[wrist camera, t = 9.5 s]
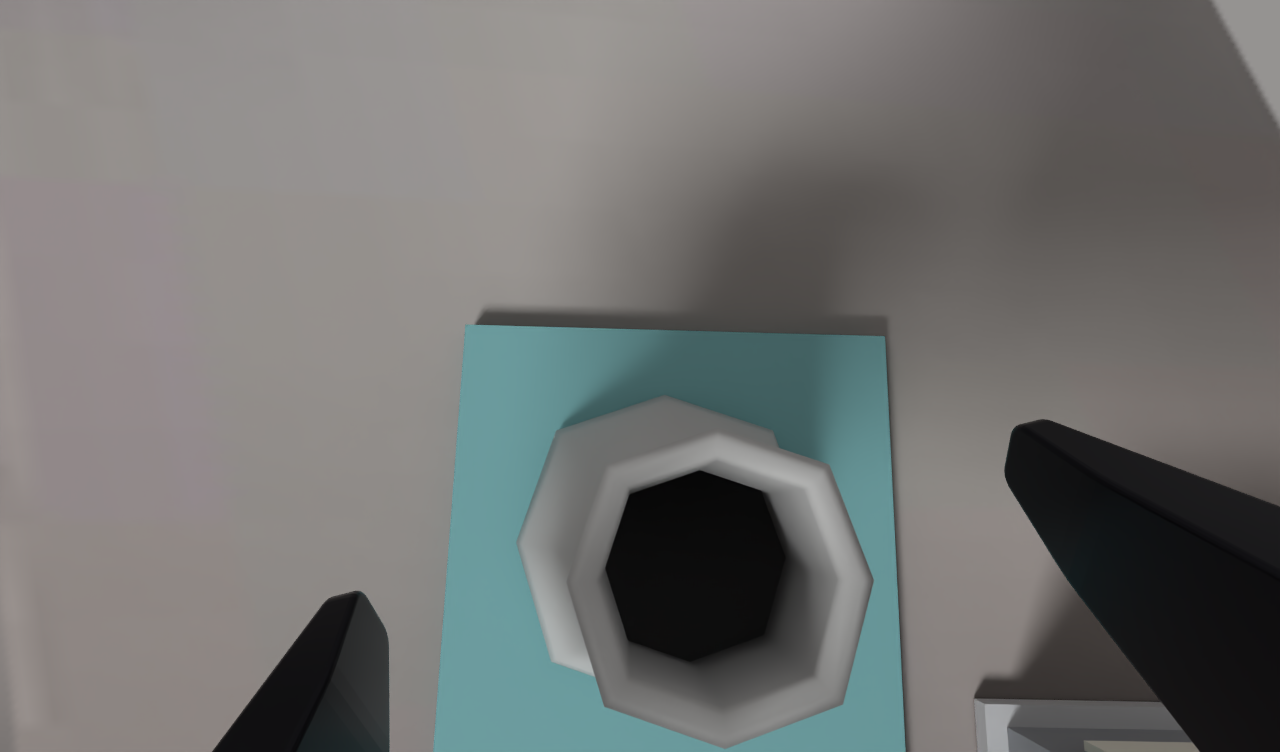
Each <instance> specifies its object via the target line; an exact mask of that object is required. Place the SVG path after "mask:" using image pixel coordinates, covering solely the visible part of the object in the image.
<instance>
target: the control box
mask: <svg viewBox="0 0 1280 752" xmlns="http://www.w3.org/2000/svg"><path fill="white" fill-rule="evenodd" d="M974 705H975V720H976V734H977V749H978V752H1199V750H1198V749H1197V748H1196V747H1195V745H1194V744H1193V743H1192V741H1191V740H1190V739H1189V737H1188V736H1187V735H1186V734H1185V732H1184V731H1183V730H1182V728H1181V727H1180V726H1179V724H1178V723H1177V722H1176V721H1175V719H1174V718H1173V717H1172V715H1171V714H1170V713H1169V712H1168V710H1167V709H1166V708H1165V706H1164V705H1163V704H1162V702H1136V701H1083V700H1030V699H978V698H974Z"/></svg>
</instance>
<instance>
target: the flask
mask: <svg viewBox="0 0 1280 752" xmlns="http://www.w3.org/2000/svg"><path fill="white" fill-rule="evenodd" d="M516 544H517V547H518V551H519V554H520V558H521V561H522V564H523V568H524V571H525V575H526V578H527V581H528V585H529V588H530V592H531V595H532V598H533V602H534V605H535V609H536V612H537V616H538V619H539V622H540V626H541V629H542V633H543V636H544V639H545V643H546V646H547V650H548V653H549V656H550V660H551V662H553V663H556V664H559V665H562V666H565V667H567V668H570V669H573V670H576V671H579V672H582V673H585V674H587V675H590V676H593V677H595V678H596V681H597V685H598V688H599V691H600V695H601V698H602V701H603V705H604V707H606V708H609V709H612V710H615V711H618V712H621V713H624V714H626V715H629V716H632V717H635V718H638V719H641V720H644V721H646V722H649V723H652V724H655V725H658V726H661V727H664V728H666V729H669V730H672V731H675V732H678V733H681V734H684V735H686V736H689V737H692V738H695V739H698V740H701V741H704V742H706V743H709V744H712V745H715V746H718V747H721V748H724V749H727V748H729V747H732V746H735V745H737V744H740V743H743V742H745V741H748V740H750V739H753V738H756V737H758V736H761V735H764V734H766V733H769V732H772V731H774V730H777V729H780V728H782V727H785V726H788V725H790V724H793V723H796V722H798V721H801V720H803V719H806V718H809V717H811V716H814V715H817V714H819V713H822V712H825V711H827V710H830V709H833V708H835V707H838V706H841V705H843V703H844V699H845V695H846V691H847V687H848V683H849V679H850V675H851V671H852V667H853V663H854V659H855V655H856V651H857V647H858V643H859V639H860V635H861V631H862V627H863V623H864V619H865V615H866V611H867V607H868V603H869V599H870V595H871V591H872V587H873V583H874V579H873V576H872V574H871V571H870V568H869V566H868V563H867V561H866V558H865V556H864V553H863V550H862V548H861V545H860V543H859V540H858V537H857V535H856V532H855V530H854V527H853V524H852V522H851V519H850V517H849V514H848V512H847V509H846V506H845V504H844V501H843V499H842V496H841V493H840V491H839V488H838V486H837V483H836V480H835V478H834V475H833V473H832V470H831V468H830V465H829V464H826V463H823V462H820V461H817V460H814V459H811V458H808V457H805V456H802V455H799V454H796V453H793V452H790V451H787V450H784V449H781V448H779V446H778V443H777V440H776V438H775V435H774V432H773V430H770V429H767V428H764V427H761V426H758V425H755V424H752V423H749V422H746V421H743V420H740V419H737V418H734V417H731V416H728V415H724V414H721V413H718V412H715V411H712V410H709V409H706V408H703V407H700V406H697V405H694V404H691V403H688V402H685V401H682V400H679V399H676V398H673V397H670V396H667V395H662V396H659V397H656V398H653V399H650V400H647V401H644V402H641V403H638V404H635V405H632V406H629V407H626V408H623V409H620V410H617V411H614V412H611V413H608V414H605V415H601V416H598V417H595V418H592V419H589V420H586V421H583V422H580V423H577V424H574V425H571V426H568V427H565V428H562V429H559V430H556V432H555V435H554V438H553V440H552V443H551V446H550V449H549V452H548V454H547V457H546V460H545V463H544V466H543V468H542V471H541V474H540V477H539V480H538V482H537V485H536V488H535V491H534V494H533V497H532V499H531V502H530V505H529V508H528V511H527V513H526V516H525V519H524V522H523V525H522V527H521V530H520V533H519V536H518V539H517V541H516Z"/></svg>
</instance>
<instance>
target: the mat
mask: <svg viewBox="0 0 1280 752" xmlns="http://www.w3.org/2000/svg"><path fill="white" fill-rule="evenodd" d="M662 395H667V396H670V397H673V398H676V399H679V400H682V401H685V402H688V403H691V404H694V405H697V406H700V407H703V408H706V409H709V410H712V411H715V412H718V413H721V414H724V415H728V416H731V417H734V418H737V419H740V420H743V421H746V422H749V423H752V424H755V425H758V426H761V427H764V428H767V429H770V430H773V432H774V435H775V438H776V440H777V443H778V446H779V448H781V449H784V450H787V451H790V452H793V453H796V454H799V455H802V456H805V457H808V458H811V459H814V460H817V461H820V462H823V463H826V464H829V465H830V468H831V470H832V473H833V475H834V478H835V480H836V483H837V486H838V488H839V491H840V493H841V496H842V499H843V501H844V504H845V506H846V509H847V512H848V514H849V517H850V519H851V522H852V524H853V527H854V530H855V532H856V535H857V537H858V540H859V543H860V545H861V548H862V550H863V553H864V556H865V558H866V561H867V563H868V566H869V568H870V571H871V574H872V576H873V579H874V583H873V587H872V591H871V595H870V599H869V603H868V607H867V611H866V615H865V619H864V623H863V627H862V631H861V635H860V639H859V643H858V647H857V651H856V655H855V659H854V663H853V667H852V671H851V675H850V679H849V683H848V687H847V691H846V695H845V699H844V703H843V705H841V706H838V707H835V708H833V709H830V710H827V711H825V712H822V713H819V714H817V715H814V716H811V717H809V718H806V719H803V720H801V721H798V722H796V723H793V724H790V725H788V726H785V727H782V728H780V729H777V730H774V731H772V732H769V733H766V734H764V735H761V736H758V737H756V738H753V739H750V740H748V741H745V742H743V743H740V744H737V745H735V746H732V747H729V748H727V749H724V748H721V747H718V746H715V745H712V744H709V743H706V742H704V741H701V740H698V739H695V738H692V737H689V736H686V735H684V734H681V733H678V732H675V731H672V730H669V729H666V728H664V727H661V726H658V725H655V724H652V723H649V722H646V721H644V720H641V719H638V718H635V717H632V716H629V715H626V714H624V713H621V712H618V711H615V710H612V709H609V708H606V707H604V705H603V701H602V698H601V695H600V691H599V688H598V685H597V681H596V678H595V677H593V676H590V675H587V674H585V673H582V672H579V671H576V670H573V669H570V668H567V667H565V666H562V665H559V664H556V663H553V662H551V660H550V656H549V653H548V650H547V646H546V643H545V639H544V636H543V633H542V629H541V626H540V622H539V619H538V616H537V612H536V609H535V605H534V602H533V598H532V595H531V592H530V588H529V585H528V581H527V578H526V575H525V571H524V568H523V564H522V561H521V558H520V554H519V551H518V547H517V544H516V541H517V539H518V536H519V533H520V530H521V527H522V525H523V522H524V519H525V516H526V513H527V511H528V508H529V505H530V502H531V499H532V497H533V494H534V491H535V488H536V485H537V482H538V480H539V477H540V474H541V471H542V468H543V466H544V463H545V460H546V457H547V454H548V452H549V449H550V446H551V443H552V440H553V438H554V435H555V432H556V430H559V429H562V428H565V427H568V426H571V425H574V424H577V423H580V422H583V421H586V420H589V419H592V418H595V417H598V416H601V415H605V414H608V413H611V412H614V411H617V410H620V409H623V408H626V407H629V406H632V405H635V404H638V403H641V402H644V401H647V400H650V399H653V398H656V397H659V396H662ZM433 752H905V731H904V711H903V691H902V671H901V650H900V630H899V610H898V589H897V569H896V549H895V529H894V508H893V488H892V468H891V448H890V427H889V407H888V387H887V366H886V346H885V336H860V335H824V334H788V333H751V332H715V331H679V330H643V329H607V328H571V327H534V326H498V325H466V326H465V339H464V352H463V365H462V379H461V392H460V405H459V418H458V432H457V445H456V458H455V471H454V484H453V498H452V511H451V524H450V537H449V550H448V564H447V577H446V590H445V603H444V617H443V630H442V643H441V656H440V669H439V683H438V696H437V709H436V722H435V735H434V749H433Z"/></svg>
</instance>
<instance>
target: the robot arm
mask: <svg viewBox="0 0 1280 752" xmlns="http://www.w3.org/2000/svg"><path fill="white" fill-rule="evenodd" d="M1004 471H1005V478H1006V481H1007V484H1008V486H1009V488H1010V489H1011V491H1012V493H1013V494H1014V496H1015V497H1016V499H1017V501H1018V502H1019V504H1020V505H1021V507H1022V509H1023V510H1024V512H1025V513H1026V515H1027V517H1028V518H1029V520H1030V522H1031V523H1032V525H1033V526H1034V528H1035V530H1036V531H1037V533H1038V534H1039V536H1040V538H1041V539H1042V541H1043V542H1044V544H1045V546H1046V547H1047V549H1048V551H1049V552H1050V554H1051V555H1052V557H1053V559H1054V560H1055V562H1056V563H1057V565H1058V566H1059V568H1060V569H1061V571H1062V572H1063V574H1064V575H1065V577H1066V579H1067V580H1068V581H1069V583H1070V584H1071V585H1072V587H1073V588H1074V589H1075V591H1076V592H1077V593H1078V595H1079V596H1080V597H1081V599H1082V600H1083V601H1084V603H1085V604H1086V605H1087V607H1088V608H1089V609H1090V610H1091V612H1092V613H1093V614H1094V616H1095V617H1096V618H1097V619H1098V621H1099V622H1100V623H1101V625H1102V626H1103V627H1104V629H1105V630H1106V631H1107V632H1108V634H1109V635H1110V636H1111V638H1112V639H1113V640H1114V642H1115V643H1116V644H1117V645H1118V647H1119V648H1120V649H1121V651H1122V652H1123V653H1124V654H1125V656H1126V657H1127V658H1128V660H1129V661H1130V662H1131V664H1132V665H1133V666H1134V667H1135V669H1136V670H1137V671H1138V673H1139V674H1140V675H1141V677H1142V678H1143V679H1144V680H1145V682H1146V683H1147V684H1148V686H1149V687H1150V688H1151V689H1152V691H1153V692H1154V693H1155V695H1156V696H1157V697H1158V699H1159V700H1160V701H1161V702H1162V704H1163V705H1164V706H1165V708H1166V709H1167V710H1168V712H1169V713H1170V714H1171V715H1172V717H1173V718H1174V719H1175V721H1176V722H1177V723H1178V724H1179V726H1180V727H1181V728H1182V730H1183V731H1184V732H1185V734H1186V735H1187V736H1188V737H1189V739H1190V740H1191V741H1192V743H1193V744H1194V745H1195V747H1196V748H1197V749H1198V750H1199V752H1280V507H1279V506H1277V505H1274V504H1271V503H1269V502H1266V501H1263V500H1261V499H1258V498H1255V497H1253V496H1250V495H1247V494H1245V493H1242V492H1239V491H1237V490H1234V489H1231V488H1229V487H1226V486H1223V485H1221V484H1218V483H1215V482H1213V481H1210V480H1207V479H1205V478H1202V477H1199V476H1197V475H1194V474H1192V473H1189V472H1186V471H1184V470H1181V469H1178V468H1176V467H1173V466H1170V465H1168V464H1165V463H1162V462H1160V461H1157V460H1154V459H1152V458H1149V457H1146V456H1144V455H1141V454H1138V453H1136V452H1133V451H1130V450H1128V449H1125V448H1122V447H1120V446H1117V445H1114V444H1112V443H1109V442H1106V441H1104V440H1101V439H1098V438H1096V437H1093V436H1090V435H1088V434H1085V433H1082V432H1080V431H1077V430H1074V429H1072V428H1069V427H1066V426H1064V425H1061V424H1058V423H1056V422H1053V421H1050V420H1045V419H1041V420H1036V421H1032V422H1028V423H1024V424H1020V425H1018V426H1016V427H1015V428H1014V429H1013V431H1012V433H1011V437H1010V442H1009V447H1008V452H1007V457H1006V463H1005V469H1004ZM212 752H389V642H388V636H387V632H386V629H385V627H384V625H383V623H382V622H381V620H380V618H379V617H378V615H377V613H376V612H375V610H374V608H373V607H372V605H371V603H370V602H369V600H368V598H367V597H366V595H365V594H364V593H362V592H361V591H353V592H349V593H345V594H341V595H337V596H333V597H331V598H329V599H328V600H326V601H325V602H324V604H323V605H322V606H321V607H320V609H319V610H318V611H317V613H316V614H315V615H314V617H313V618H312V619H311V621H310V622H309V623H308V625H307V626H306V627H305V629H304V630H303V631H302V633H301V634H300V635H299V637H298V638H297V639H296V641H295V642H294V643H293V645H292V646H291V647H290V649H289V650H288V651H287V653H286V654H285V655H284V657H283V658H282V659H281V661H280V662H279V663H278V665H277V666H276V667H275V669H274V670H273V671H272V673H271V674H270V675H269V677H268V678H267V679H266V681H265V682H264V683H263V685H262V686H261V687H260V689H259V690H258V691H257V693H256V694H255V695H254V697H253V698H252V699H251V701H250V702H249V703H248V705H247V706H246V707H245V709H244V710H243V711H242V713H241V714H240V715H239V717H238V718H237V719H236V721H235V722H234V723H233V725H232V726H231V727H230V729H229V730H228V731H227V733H226V734H225V735H224V736H223V738H222V739H221V740H220V742H219V743H218V744H217V746H216V747H215V748H214V750H213V751H212Z"/></svg>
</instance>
